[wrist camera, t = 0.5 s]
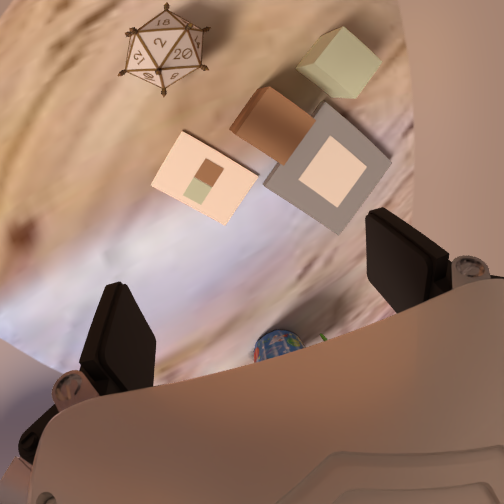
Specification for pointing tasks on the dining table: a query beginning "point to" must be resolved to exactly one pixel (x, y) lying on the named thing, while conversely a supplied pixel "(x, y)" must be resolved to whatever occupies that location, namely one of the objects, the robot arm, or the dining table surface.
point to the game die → (164, 50)
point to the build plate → (329, 170)
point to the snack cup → (277, 345)
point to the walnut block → (272, 124)
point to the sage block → (339, 64)
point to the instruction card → (203, 178)
